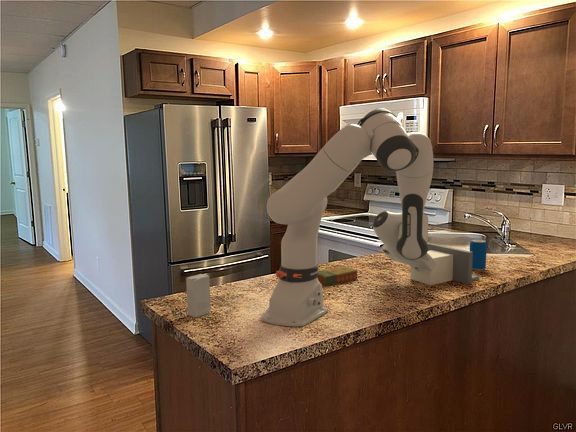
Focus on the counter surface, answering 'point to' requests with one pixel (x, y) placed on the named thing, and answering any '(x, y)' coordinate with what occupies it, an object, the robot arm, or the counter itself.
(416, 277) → the block
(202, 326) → the counter surface
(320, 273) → the carton
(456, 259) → the grey stand
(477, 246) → the beverage can
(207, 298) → the skincare box
